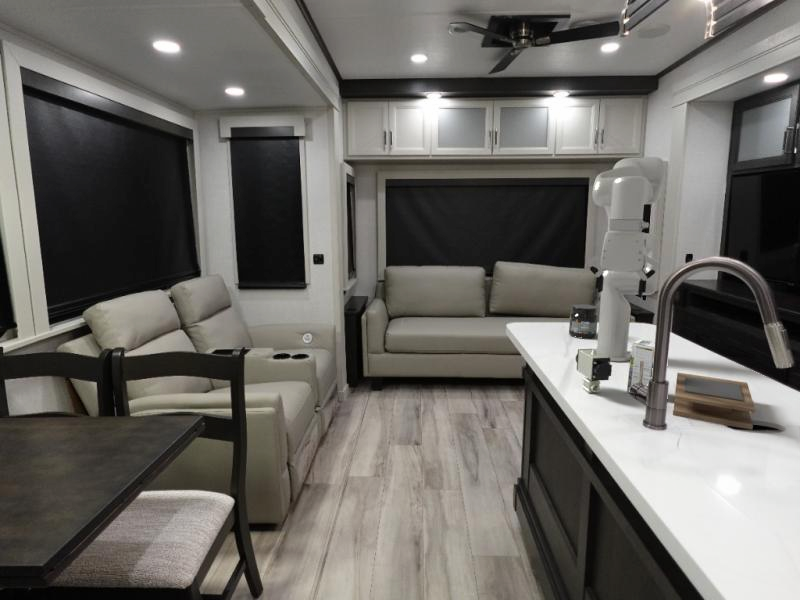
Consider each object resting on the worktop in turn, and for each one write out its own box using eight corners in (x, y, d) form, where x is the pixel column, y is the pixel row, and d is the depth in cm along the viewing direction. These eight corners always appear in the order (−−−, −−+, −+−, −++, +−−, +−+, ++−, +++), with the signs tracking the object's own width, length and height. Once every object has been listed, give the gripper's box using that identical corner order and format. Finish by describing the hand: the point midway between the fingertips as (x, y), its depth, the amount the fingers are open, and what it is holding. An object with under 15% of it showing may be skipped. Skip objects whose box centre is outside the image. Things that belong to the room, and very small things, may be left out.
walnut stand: (675, 389, 136) (677, 371, 135) (744, 400, 128) (747, 381, 127) (672, 414, 119) (675, 394, 118) (752, 429, 111) (755, 407, 110)
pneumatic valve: (593, 399, 129) (596, 356, 127) (573, 383, 141) (575, 344, 138) (613, 398, 130) (616, 355, 128) (591, 383, 141) (594, 343, 139)
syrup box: (634, 387, 138) (638, 338, 135) (656, 393, 133) (661, 342, 131) (626, 393, 134) (630, 342, 131) (649, 398, 129) (654, 346, 127)
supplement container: (582, 331, 201) (584, 303, 198) (602, 337, 191) (604, 307, 189) (562, 334, 196) (564, 305, 194) (582, 340, 187) (584, 310, 185)
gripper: (665, 226, 121) (658, 294, 124) (592, 225, 130) (588, 288, 133) (662, 228, 114) (655, 299, 118) (586, 226, 124) (581, 292, 127)
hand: (619, 293), depth 125 cm, fingers open, 9 cm apart
